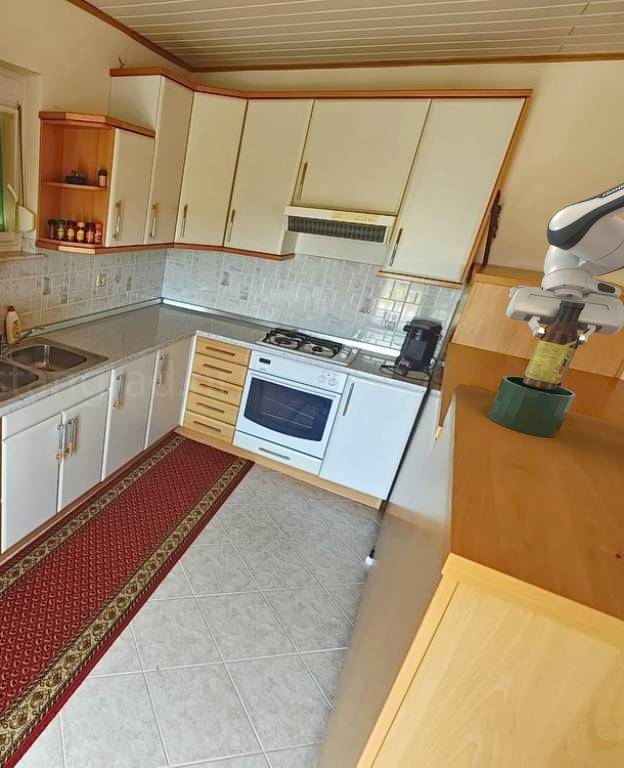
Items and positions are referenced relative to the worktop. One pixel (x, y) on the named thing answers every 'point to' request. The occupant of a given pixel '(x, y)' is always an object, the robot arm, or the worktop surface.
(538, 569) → the worktop surface
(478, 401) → the worktop surface
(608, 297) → the robot arm
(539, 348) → the sauce bottle
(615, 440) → the worktop surface
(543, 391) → the crock
